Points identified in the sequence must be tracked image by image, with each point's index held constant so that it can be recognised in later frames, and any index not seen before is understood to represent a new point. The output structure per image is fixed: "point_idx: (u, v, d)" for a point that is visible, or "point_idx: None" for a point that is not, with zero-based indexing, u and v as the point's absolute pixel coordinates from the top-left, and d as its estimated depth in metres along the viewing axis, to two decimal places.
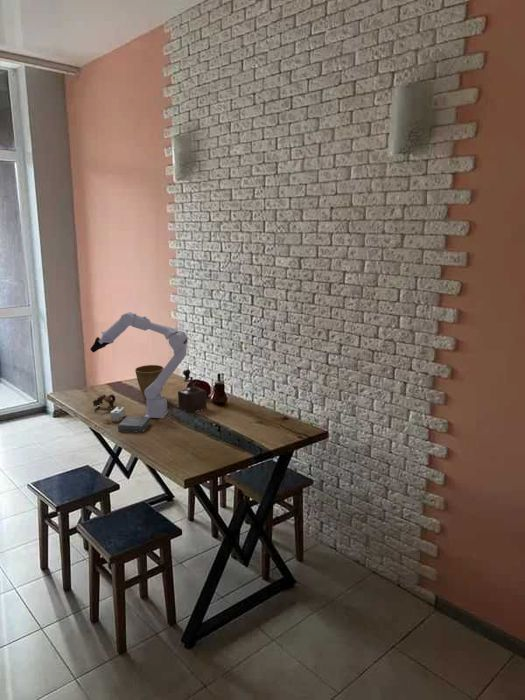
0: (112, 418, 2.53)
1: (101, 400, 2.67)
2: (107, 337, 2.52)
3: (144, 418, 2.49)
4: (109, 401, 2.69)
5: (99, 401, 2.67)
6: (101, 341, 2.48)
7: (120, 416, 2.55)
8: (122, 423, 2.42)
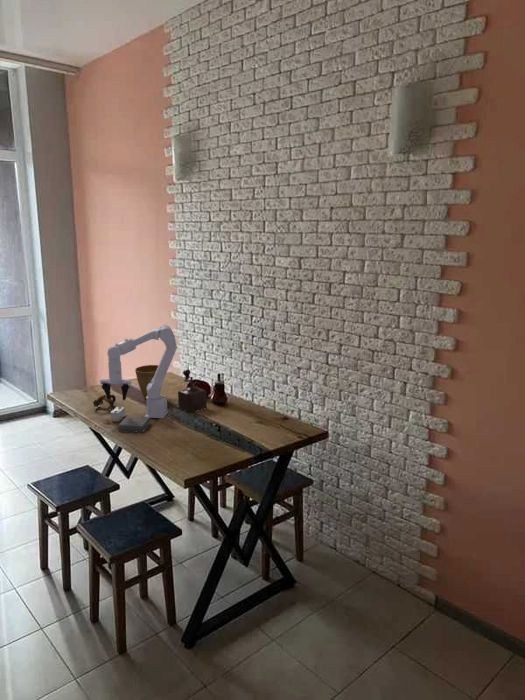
0: (112, 418, 2.53)
1: (101, 400, 2.67)
2: (121, 379, 2.53)
3: (144, 418, 2.49)
4: (109, 401, 2.68)
5: (99, 401, 2.66)
6: (130, 382, 2.53)
7: (120, 416, 2.55)
8: (122, 423, 2.42)
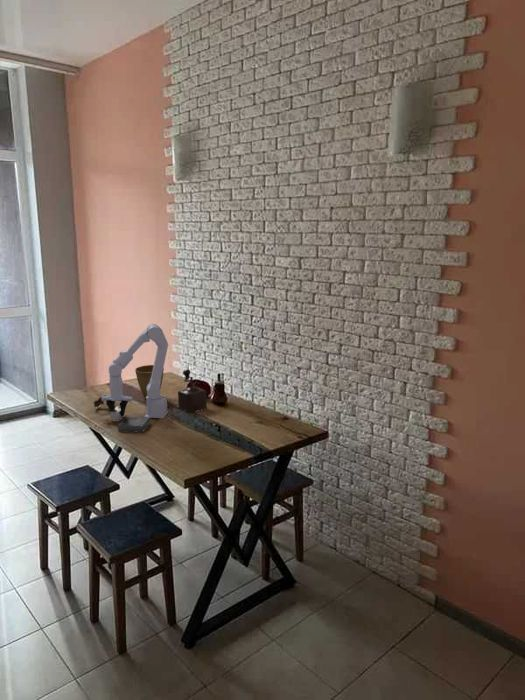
0: (112, 418, 2.53)
1: (102, 401, 2.66)
2: (122, 395, 2.55)
3: (144, 418, 2.49)
4: None
5: (100, 402, 2.66)
6: (131, 399, 2.54)
7: (120, 416, 2.55)
8: (122, 423, 2.42)
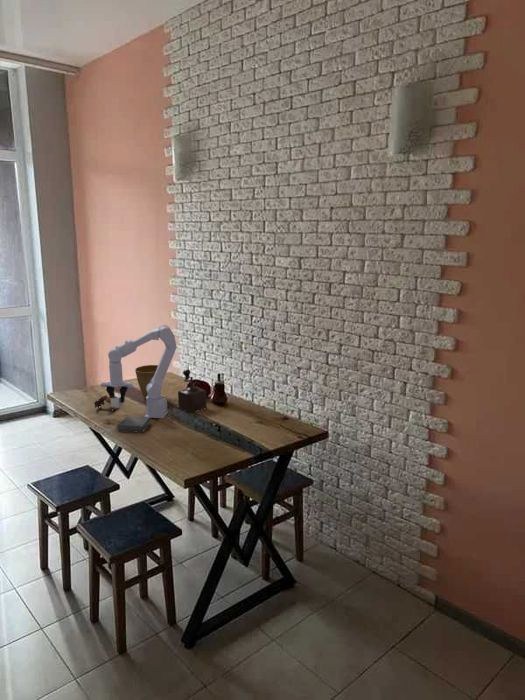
0: (112, 404, 2.51)
1: (103, 401, 2.65)
2: (122, 381, 2.53)
3: (144, 418, 2.49)
4: None
5: (101, 402, 2.65)
6: (132, 384, 2.53)
7: (120, 402, 2.53)
8: (122, 423, 2.42)
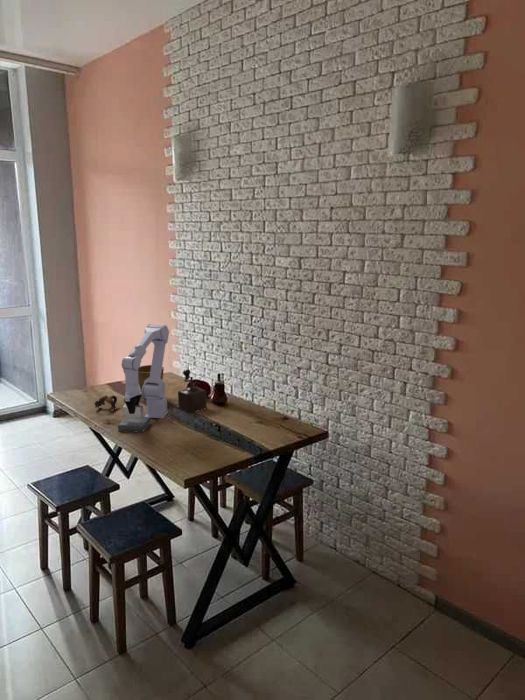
0: (141, 413, 2.42)
1: (103, 401, 2.65)
2: None
3: (144, 418, 2.49)
4: (111, 402, 2.67)
5: (101, 402, 2.65)
6: None
7: None
8: (122, 423, 2.42)
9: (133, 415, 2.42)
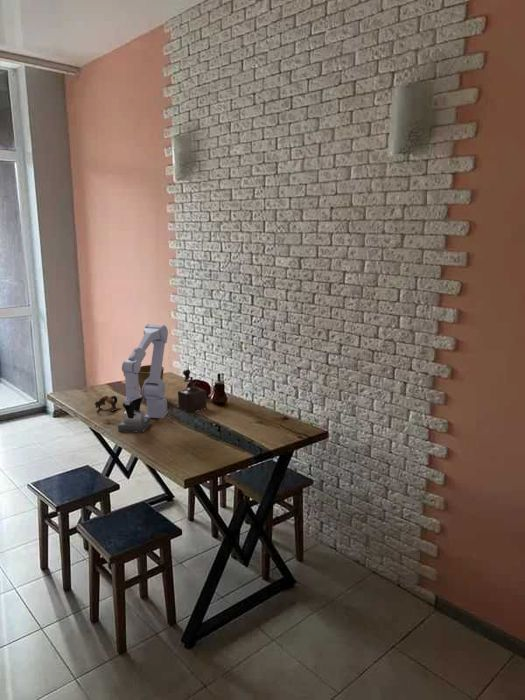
0: (141, 419, 2.43)
1: (103, 401, 2.65)
2: None
3: (144, 418, 2.49)
4: (111, 402, 2.67)
5: (101, 402, 2.64)
6: None
7: None
8: (122, 423, 2.42)
9: (133, 421, 2.42)
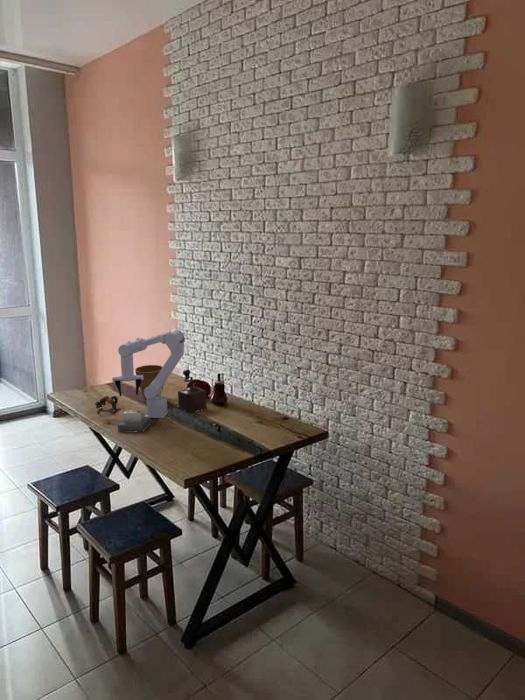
0: (141, 419, 2.43)
1: (104, 402, 2.64)
2: (133, 374, 2.60)
3: (144, 418, 2.49)
4: (112, 403, 2.66)
5: (102, 403, 2.64)
6: None
7: None
8: (122, 423, 2.42)
9: (133, 421, 2.42)
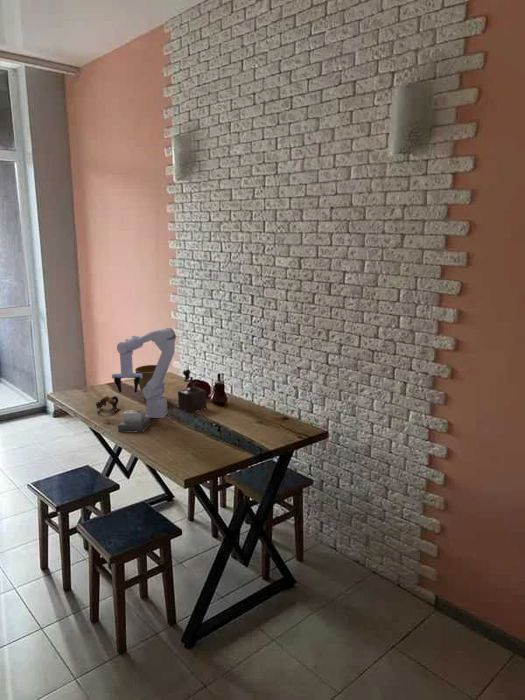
0: (141, 419, 2.43)
1: (105, 402, 2.64)
2: (132, 372, 2.65)
3: (144, 418, 2.49)
4: (113, 403, 2.66)
5: (103, 403, 2.63)
6: None
7: None
8: (122, 423, 2.42)
9: (133, 421, 2.42)
